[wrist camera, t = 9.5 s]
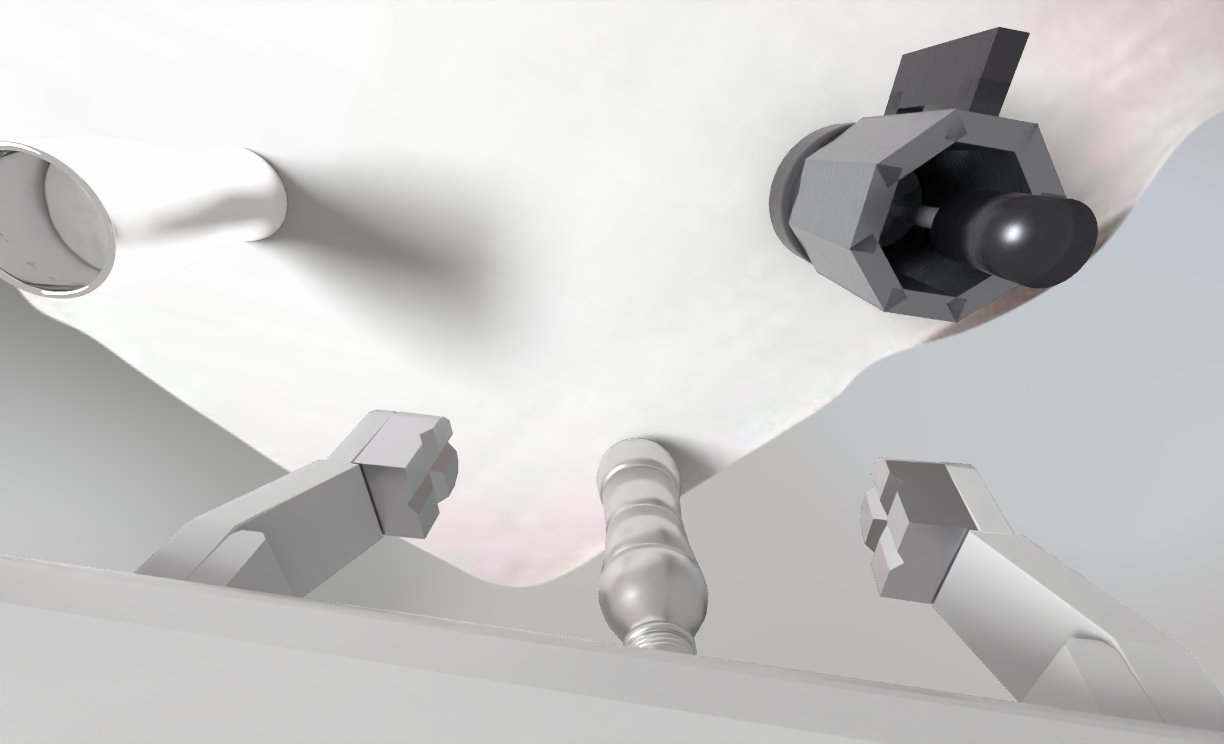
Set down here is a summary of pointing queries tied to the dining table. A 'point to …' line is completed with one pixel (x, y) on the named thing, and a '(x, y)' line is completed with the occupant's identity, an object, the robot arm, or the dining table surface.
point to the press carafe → (940, 158)
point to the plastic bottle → (648, 551)
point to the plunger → (999, 231)
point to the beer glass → (124, 210)
